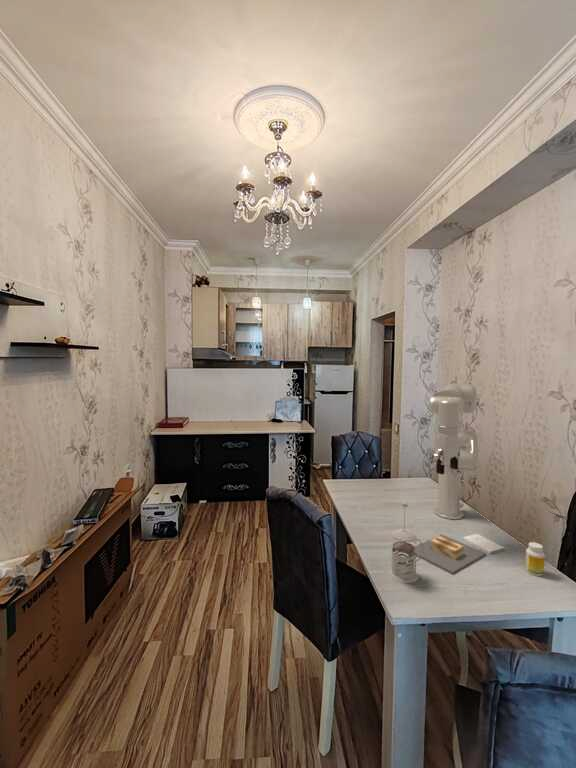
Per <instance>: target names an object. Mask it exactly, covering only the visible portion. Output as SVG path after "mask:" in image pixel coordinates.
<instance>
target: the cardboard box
mask: <svg viewBox="0 0 576 768" xmlns="http://www.w3.org/2000/svg"><path fill="white" fill-rule="evenodd" d="M432 538H433V539H432ZM432 538H430V539H431V540H430V539H429V540H430V549H432V550H435V551H437V552H439V553H441V554H444V555H446V556H448V557H450V558H452V559H457V558H459V557H460V556H462V555H463V554H464V546H462V545H460V544H457V543H455V542H453V541H450V540H448V539H445V538H443V537H440V536H439V535H437V536H434V537H432Z"/></svg>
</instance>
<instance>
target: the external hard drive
mask: <svg viewBox="0 0 576 768" xmlns="http://www.w3.org/2000/svg"><path fill="white" fill-rule="evenodd" d="M462 539H463V541H465V542H468V543H469V544H471V545H472V546H475V547H477V548H479V549H480V550H482V551H484V553H486V554H487V553H488V554H489V555H493V554H495V553H500V552H504V551H506V547H504V546H503V545H500V544H499V543H497V542H496V541H493V540H491V539H489V538H486V537H485V536H483V535H480V534H479V533H475V534H471V535H467V536H463V538H462Z"/></svg>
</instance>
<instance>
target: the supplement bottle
mask: <svg viewBox="0 0 576 768" xmlns="http://www.w3.org/2000/svg"><path fill="white" fill-rule="evenodd" d="M543 550H544V546H543V545H542V544H540V543H538V542H533V541H531V542H529V543H528V548H526V549H525V561H524V562H525V563H524V569H525V571H526V572H527V573H529V574H530V575H532V576H536V577H537V576H538V577H542V576H543V575H545V559H546V556H545V553H544V551H543Z"/></svg>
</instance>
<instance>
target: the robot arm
mask: <svg viewBox="0 0 576 768" xmlns="http://www.w3.org/2000/svg"><path fill="white" fill-rule="evenodd" d="M477 397H478V393H477V389H476V387H475V386H474V384H471V383H449V384H446V385H445V386H444V387H443V389H442V390H440V391H439V390H438V391H434V392H432V393H431V394H430V395H429V398H428V400H427V409H428V412H430V413H431V414H436V415H438V423H437V434H436V439H435V448H434V449H435V450H434V453H433V458H434V461H435V467H436V470H435V471H436V474H438V485H437V486H438V490H437V491H438V496H437V506H436V507H435V508H434V514H435V515H437V516H439V517H441V518H443V519H447V520H461V519H462V518H464V513H463V512H462V511H461V508H464V507H465V506H464V503H463V502H461V482H462V481H461V480H462V479H461V478H460V475H459V474H458V472H457V471H463V472H475V471H477V470H478V468H479V436H478V435H477V432H475V431H473V430H467V429H462V422H461V420H460V415H461V414H472V413H475V412H476V411H477V410H476V409H477V400H478V399H477Z"/></svg>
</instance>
